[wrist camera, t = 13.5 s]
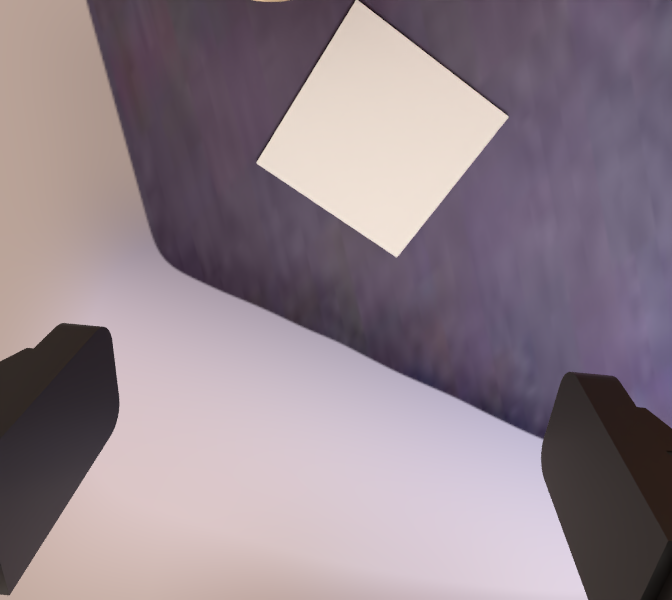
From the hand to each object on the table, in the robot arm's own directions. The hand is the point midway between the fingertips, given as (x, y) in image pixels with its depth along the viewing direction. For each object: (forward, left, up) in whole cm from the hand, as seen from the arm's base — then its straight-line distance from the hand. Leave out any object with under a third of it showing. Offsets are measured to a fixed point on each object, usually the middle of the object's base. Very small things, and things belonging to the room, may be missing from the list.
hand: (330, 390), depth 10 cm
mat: (-2, +1, -34) cm, 34 cm away
